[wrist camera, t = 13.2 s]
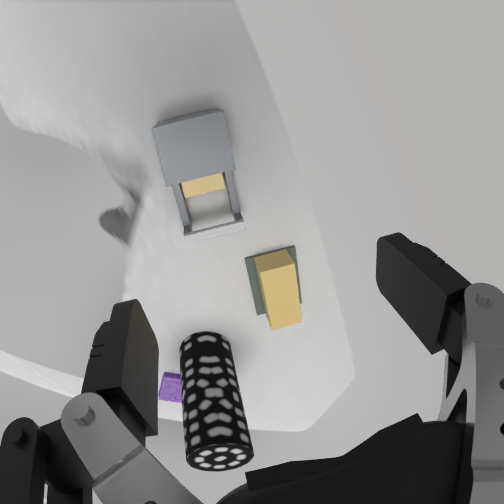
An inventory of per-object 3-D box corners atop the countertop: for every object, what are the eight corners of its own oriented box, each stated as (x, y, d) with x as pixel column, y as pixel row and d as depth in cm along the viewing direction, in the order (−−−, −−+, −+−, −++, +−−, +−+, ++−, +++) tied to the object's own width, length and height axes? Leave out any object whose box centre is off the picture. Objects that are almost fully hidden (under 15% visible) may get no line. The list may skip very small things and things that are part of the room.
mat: (244, 257, 44) (245, 259, 44) (294, 245, 45) (295, 246, 45) (257, 313, 49) (257, 315, 49) (300, 301, 50) (301, 303, 49)
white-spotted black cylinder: (206, 322, 48) (222, 436, 31) (240, 349, 52) (267, 454, 35) (169, 350, 50) (172, 460, 32) (204, 374, 54) (218, 475, 36)
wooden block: (253, 257, 44) (260, 272, 41) (286, 249, 44) (294, 263, 41) (265, 313, 49) (271, 330, 46) (294, 305, 49) (301, 321, 46)
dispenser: (158, 122, 34) (151, 128, 28) (217, 108, 35) (223, 110, 29) (185, 226, 41) (185, 252, 35) (239, 213, 41) (249, 236, 35)
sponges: (221, 401, 59) (222, 408, 57) (157, 392, 55) (157, 400, 53) (232, 379, 56) (233, 386, 55) (164, 369, 52) (163, 377, 51)
